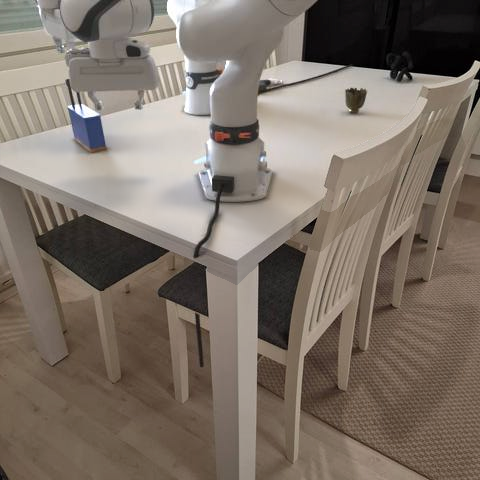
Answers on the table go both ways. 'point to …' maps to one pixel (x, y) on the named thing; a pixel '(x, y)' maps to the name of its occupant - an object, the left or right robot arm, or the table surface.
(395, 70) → the squiggle
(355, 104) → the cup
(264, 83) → the spray bottle
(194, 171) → the table surface
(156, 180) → the table surface
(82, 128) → the chest
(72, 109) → the lid
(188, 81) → the left robot arm
